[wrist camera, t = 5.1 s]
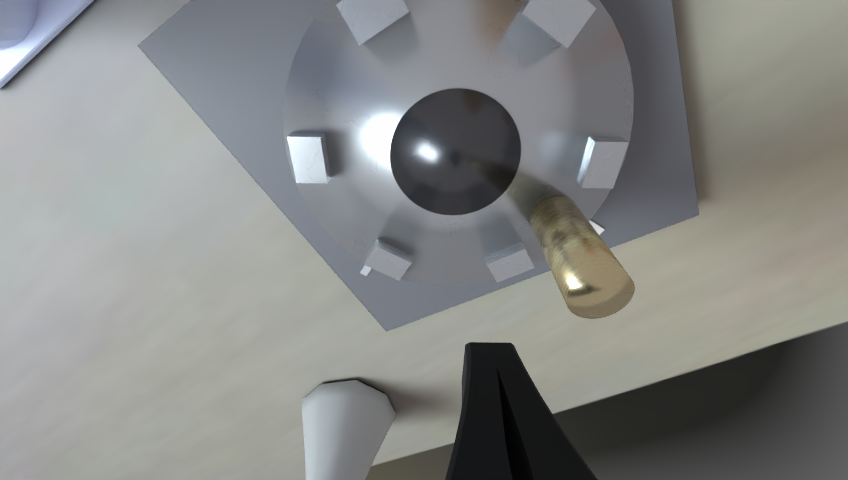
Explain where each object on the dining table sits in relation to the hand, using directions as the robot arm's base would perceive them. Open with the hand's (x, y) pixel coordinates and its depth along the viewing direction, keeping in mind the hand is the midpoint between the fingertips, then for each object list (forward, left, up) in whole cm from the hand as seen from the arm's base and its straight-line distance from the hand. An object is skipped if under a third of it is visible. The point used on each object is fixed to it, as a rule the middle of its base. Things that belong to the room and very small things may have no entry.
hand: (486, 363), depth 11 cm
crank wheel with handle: (-4, +1, -8) cm, 9 cm away
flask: (+12, -16, -10) cm, 22 cm away
